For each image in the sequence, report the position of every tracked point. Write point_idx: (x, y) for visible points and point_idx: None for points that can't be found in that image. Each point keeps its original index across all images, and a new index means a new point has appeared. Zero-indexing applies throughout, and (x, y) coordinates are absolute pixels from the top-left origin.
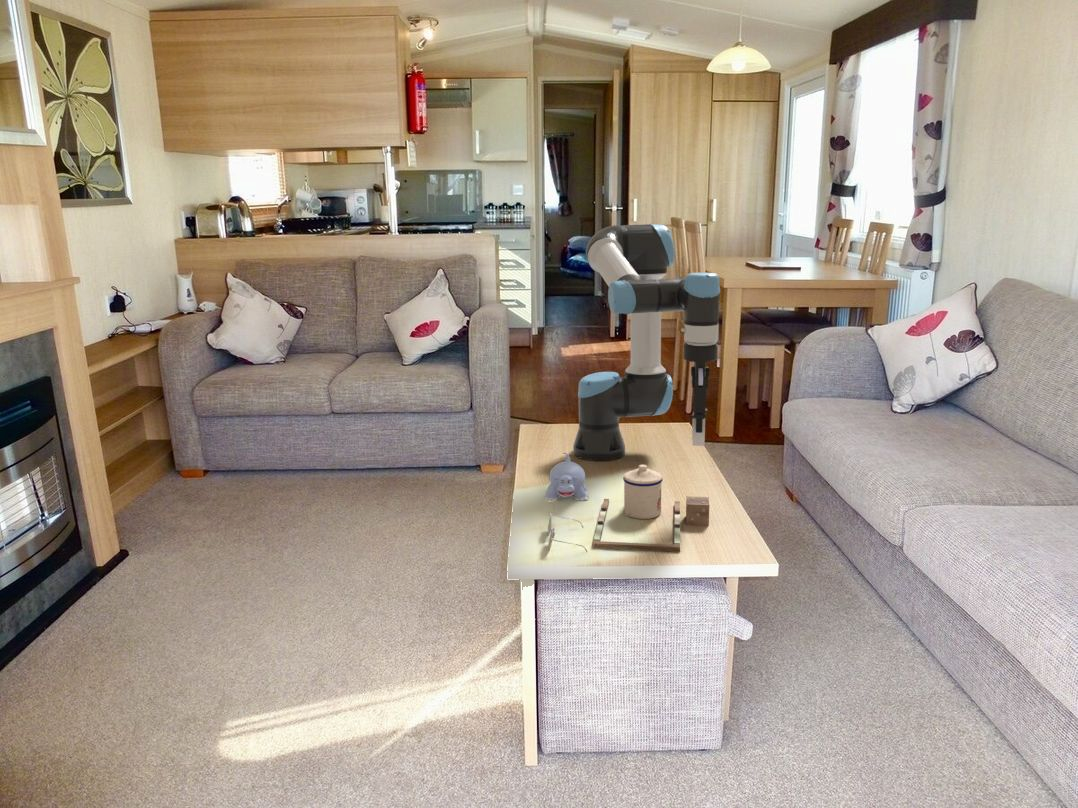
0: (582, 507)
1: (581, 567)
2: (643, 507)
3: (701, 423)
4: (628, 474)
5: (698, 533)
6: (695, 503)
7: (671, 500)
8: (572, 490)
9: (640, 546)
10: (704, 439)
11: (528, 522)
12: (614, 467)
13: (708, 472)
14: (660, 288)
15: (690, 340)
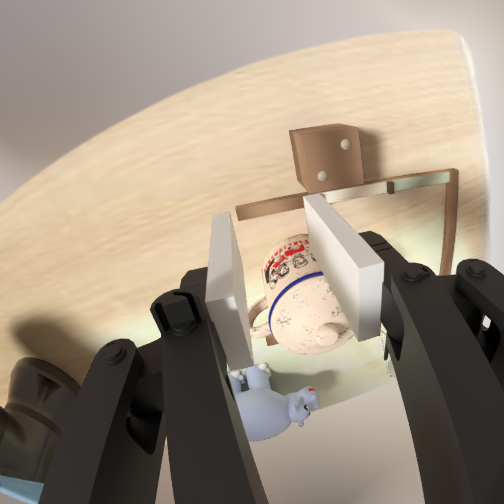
0: (298, 359)
1: None
2: None
3: (403, 263)
4: (328, 347)
5: (381, 141)
6: (354, 163)
7: (209, 231)
8: (314, 392)
9: (454, 232)
10: (328, 204)
11: (364, 386)
12: (88, 363)
13: (15, 200)
14: None
15: None
